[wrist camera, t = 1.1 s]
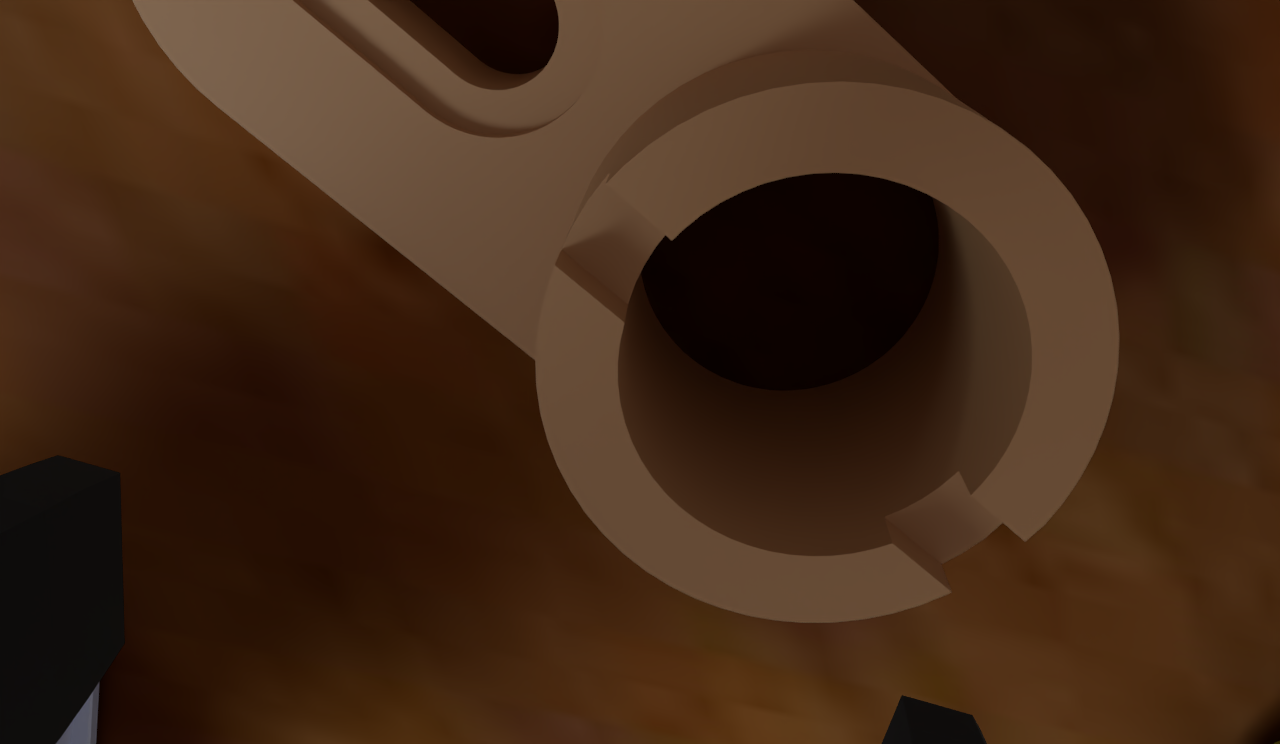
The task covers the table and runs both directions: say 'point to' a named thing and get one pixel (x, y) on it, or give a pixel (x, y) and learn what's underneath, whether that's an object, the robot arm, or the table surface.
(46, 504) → the robot arm
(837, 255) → the table surface
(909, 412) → the bracket
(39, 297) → the table surface
